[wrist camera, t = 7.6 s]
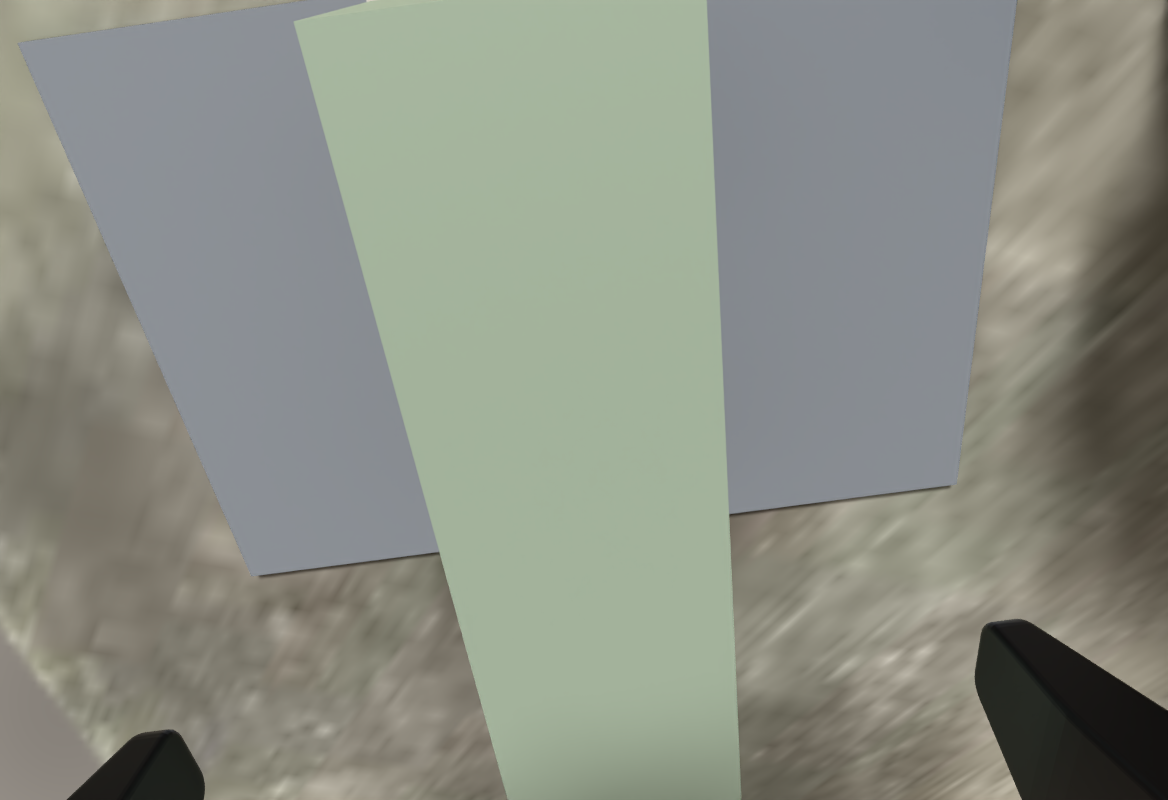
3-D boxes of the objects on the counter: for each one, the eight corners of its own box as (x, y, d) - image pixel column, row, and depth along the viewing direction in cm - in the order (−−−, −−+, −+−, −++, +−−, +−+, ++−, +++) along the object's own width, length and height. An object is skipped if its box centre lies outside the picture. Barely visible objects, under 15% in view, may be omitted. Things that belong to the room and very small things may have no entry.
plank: (654, -40, 11) (704, -38, 8) (704, 664, 18) (742, 835, 14) (371, 1, 11) (294, 20, 8) (528, 686, 18) (524, 862, 15)
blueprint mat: (1022, -105, 16) (1032, -107, 15) (951, 478, 22) (958, 486, 22) (25, 41, 16) (14, 43, 16) (254, 569, 23) (250, 578, 23)
